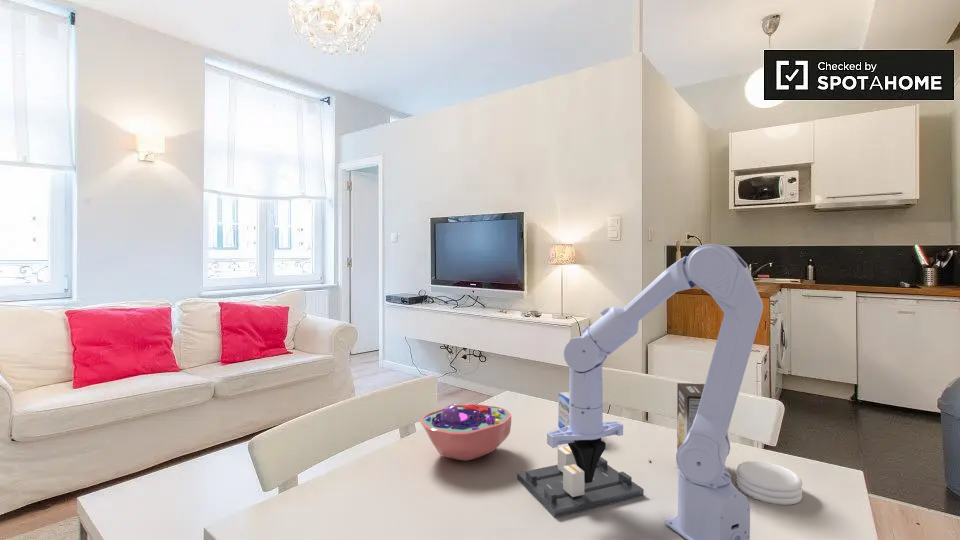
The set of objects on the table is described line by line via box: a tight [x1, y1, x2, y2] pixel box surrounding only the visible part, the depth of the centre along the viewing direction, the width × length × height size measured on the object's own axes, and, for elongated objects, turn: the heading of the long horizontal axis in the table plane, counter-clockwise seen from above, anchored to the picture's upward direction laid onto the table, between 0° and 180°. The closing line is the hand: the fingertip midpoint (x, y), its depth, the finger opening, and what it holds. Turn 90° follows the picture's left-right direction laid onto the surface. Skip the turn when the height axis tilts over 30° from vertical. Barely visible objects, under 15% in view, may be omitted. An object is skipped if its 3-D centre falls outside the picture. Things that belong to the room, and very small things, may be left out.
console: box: [516, 456, 645, 519], centre depth 84 cm, size 14×18×2 cm
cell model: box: [419, 403, 512, 462], centre depth 98 cm, size 17×20×11 cm
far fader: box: [557, 445, 577, 472], centre depth 87 cm, size 3×2×4 cm
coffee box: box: [676, 382, 705, 451], centre depth 90 cm, size 9×6×16 cm
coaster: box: [736, 460, 803, 506], centre depth 82 cm, size 10×10×4 cm
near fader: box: [563, 464, 584, 497], centre depth 80 cm, size 3×2×4 cm
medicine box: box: [557, 391, 569, 429], centre depth 110 cm, size 8×4×9 cm, turn 17°
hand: (585, 480), depth 80 cm, fingers closed
